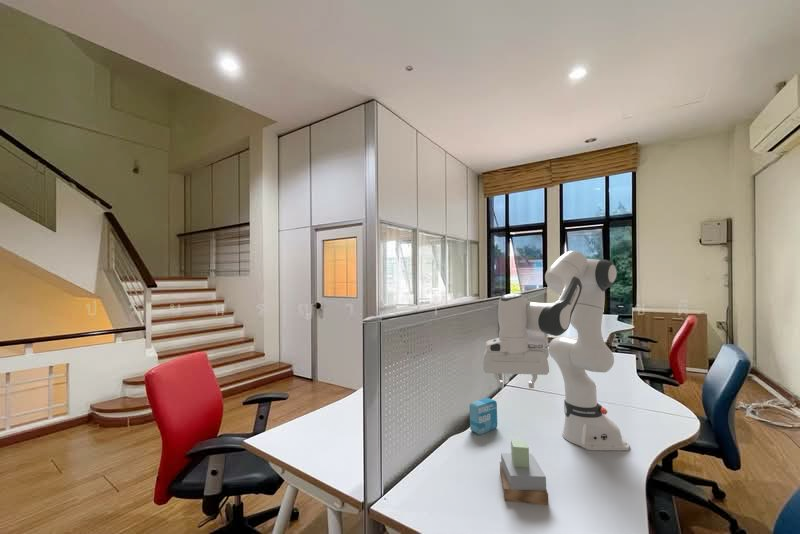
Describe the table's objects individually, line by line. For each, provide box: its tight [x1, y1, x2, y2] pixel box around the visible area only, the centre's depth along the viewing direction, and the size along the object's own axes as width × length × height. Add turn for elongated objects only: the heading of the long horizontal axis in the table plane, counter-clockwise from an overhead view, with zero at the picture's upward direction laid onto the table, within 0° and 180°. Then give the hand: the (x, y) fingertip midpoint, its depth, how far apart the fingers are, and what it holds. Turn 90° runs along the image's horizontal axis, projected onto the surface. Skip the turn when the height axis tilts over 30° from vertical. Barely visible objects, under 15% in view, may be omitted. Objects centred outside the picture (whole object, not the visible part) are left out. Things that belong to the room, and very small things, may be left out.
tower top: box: [500, 452, 547, 491], centre depth 100 cm, size 10×12×4 cm
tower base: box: [499, 461, 549, 506], centre depth 101 cm, size 12×14×4 cm
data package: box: [469, 397, 498, 435], centre depth 139 cm, size 12×4×12 cm, turn 122°
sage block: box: [510, 439, 530, 468], centre depth 101 cm, size 4×4×6 cm
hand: (515, 387), depth 105 cm, fingers open, 8 cm apart
